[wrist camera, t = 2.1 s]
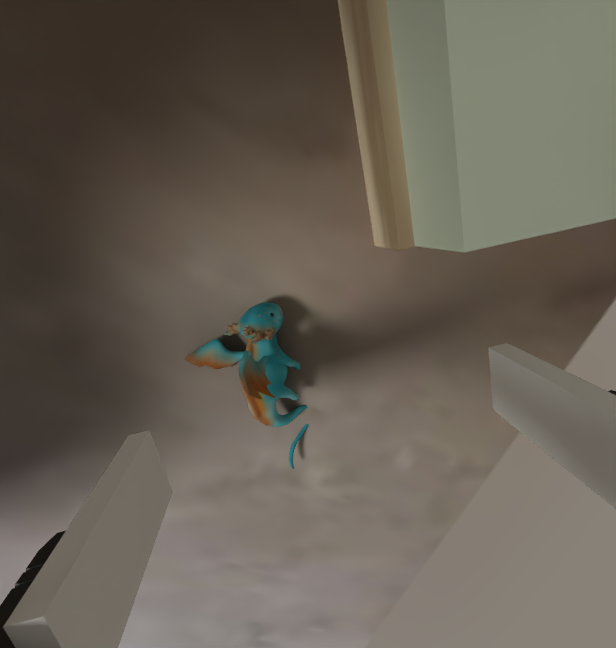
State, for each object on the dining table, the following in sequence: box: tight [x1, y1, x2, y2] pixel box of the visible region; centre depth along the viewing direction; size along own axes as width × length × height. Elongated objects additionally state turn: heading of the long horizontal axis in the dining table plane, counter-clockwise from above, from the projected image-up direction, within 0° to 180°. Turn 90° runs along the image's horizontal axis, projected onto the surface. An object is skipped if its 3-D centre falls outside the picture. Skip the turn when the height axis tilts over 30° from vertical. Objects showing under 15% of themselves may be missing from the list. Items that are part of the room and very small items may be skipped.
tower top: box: [386, 0, 616, 253], centre depth 13 cm, size 11×11×4 cm
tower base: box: [338, 0, 417, 250], centre depth 16 cm, size 12×12×4 cm
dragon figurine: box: [185, 302, 308, 469], centre depth 20 cm, size 6×7×8 cm
